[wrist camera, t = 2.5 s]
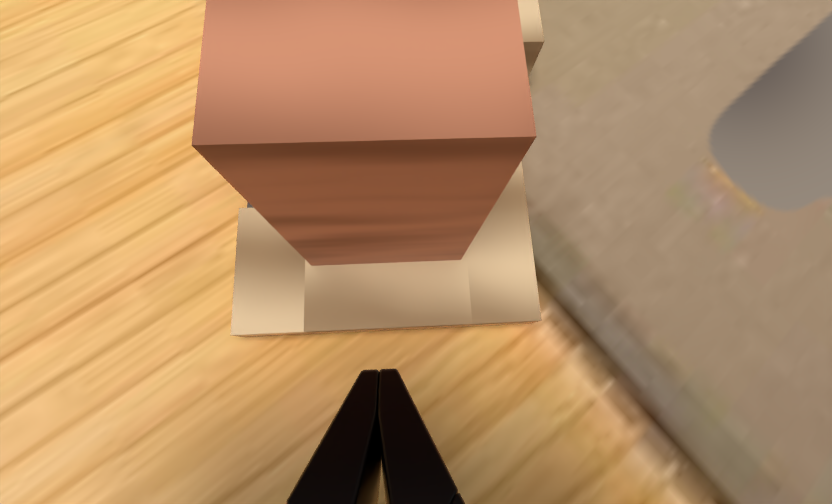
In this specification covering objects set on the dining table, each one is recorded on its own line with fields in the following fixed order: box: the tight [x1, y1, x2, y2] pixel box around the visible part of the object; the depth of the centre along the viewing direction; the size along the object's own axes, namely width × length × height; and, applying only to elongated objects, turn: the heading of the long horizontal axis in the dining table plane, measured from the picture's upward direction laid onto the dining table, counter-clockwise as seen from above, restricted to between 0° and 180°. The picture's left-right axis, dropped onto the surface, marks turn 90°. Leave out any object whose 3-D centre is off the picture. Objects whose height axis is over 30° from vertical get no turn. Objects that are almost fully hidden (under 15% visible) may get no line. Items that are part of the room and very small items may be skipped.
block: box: [192, 0, 536, 266], centre depth 14 cm, size 8×7×11 cm
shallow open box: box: [231, 0, 544, 337], centre depth 21 cm, size 25×16×4 cm, turn 3°
